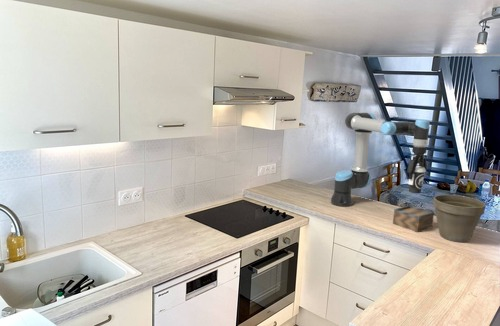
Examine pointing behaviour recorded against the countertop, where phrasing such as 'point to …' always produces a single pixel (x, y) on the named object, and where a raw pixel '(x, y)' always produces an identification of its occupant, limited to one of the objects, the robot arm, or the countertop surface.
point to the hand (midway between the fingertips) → (415, 183)
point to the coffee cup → (417, 180)
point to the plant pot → (457, 216)
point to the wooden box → (413, 218)
